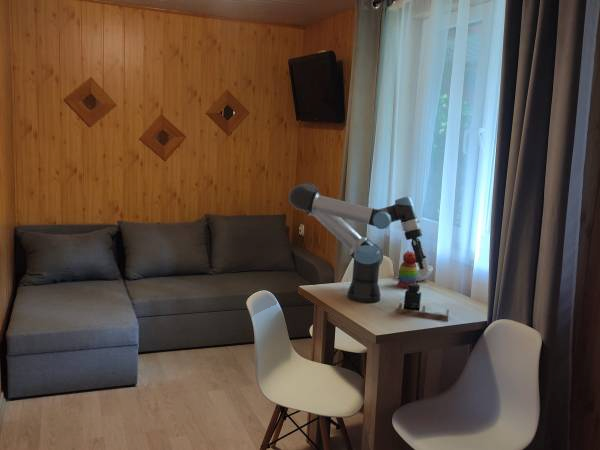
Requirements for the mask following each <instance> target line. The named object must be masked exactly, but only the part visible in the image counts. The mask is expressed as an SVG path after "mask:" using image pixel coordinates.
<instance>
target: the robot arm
mask: <svg viewBox="0 0 600 450" xmlns="http://www.w3.org/2000/svg"><path fill="white" fill-rule="evenodd" d="M288 201H289V204H290V206H291V207H293V208H294V209H296V210H298V211H302V212H304V213H305V214H306V215H307V216H311V217H314V218H315V219H316V220H317V221H318V222H320V224H321V225H323V226H324V228H326V230H327V231H329V232H330V233H331V234H332V235H333V236H334V237H335V238H336V239H337V240H338V241H339V242H341V244H343V246H344V247H345V248H346V249H347V250H349V256H350V257H351V258H353V266H352V278H351V279H352V280H351V282H350V284H349V287H348V289H347V293H346V297H347V299H348V300H350V301H353V302H356V303H357V302H358V303H364V304H365V303H366V304H368V303H369V304H372V303H378V302H380V300H381V291H380V288H379V274H380V273H379V272H380V266H381V265H382V262H383V260H384V253H383V250H382V248H381V247H380V246H379V245H378V244H375V243H374V242H372V240H371V239H369V238H368V237H365V236H361V235H360V234H359V233H358V232H357V231H356V230H355V229H354V228H353V227H352V226H351V225H350V224H349V223H348V222H347V221H346V220H349V221H354V222H357V223H361V224H366V225H369V226H373V227H375V228H376V229H379V230H384V229H387V228H388V227H390V224H391V223H394V222H398V221H400V223H401V227H402V230H403V232H404V237H405V240H407V241H409V240H411V242H410V244H411V245H410V246H411V247H412V250H413V253H414V254H415V258H416V261H415V263H417V264H418V267H419V271H420V274H421V277H422V276H426V275H427V272H429V271H428V267H427V265H428V264H427V261H426V259H427V256H426V255H425V254H424V251H423V248H422V243H421V240H420V239H419V238H420V237H423V234H422V230H421V228H420V224H419V223H420V220H419V219H418V218H417V213H416V210H415V207H414V206H415V205H414V203H413V201H412V198H411V197H410V196H403V197H400V198H397V199H395V200H394V204H392V205H389V206H385V207H382V208H378V209H377V208H372V207H368V206H365V205H361V204H357V203H353V202H349V201H345V200H344V201H343V200H340V199H336V198H333V197H329V196H324V195H323V194H322V193H321V192H320V190H319V189H318V187H317V186H316V185H314V184H312V183H309V182H304V183H301V184H299V185H296V186H294V187H293V188H292V189H291V190H290V191H289V194H288ZM344 219H345V220H344Z"/></svg>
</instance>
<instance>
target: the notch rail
mask: <svg viewBox="0 0 600 450" xmlns="http://www.w3.org/2000/svg"><path fill="white" fill-rule="evenodd" d="M396 313H397V315H398V314H399V315H405V316H413V317H419V318H427V319H435V320H439V321H440V320H442V321H449V314H450V309H446V311H445V312H438V311H431V310H426V306H424V305H423V306H422V308H421V310H419V311H416V310H409V309H403V303H402V302H400V303H398V307H397V312H396Z"/></svg>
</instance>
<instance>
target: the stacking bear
mask: <svg viewBox="0 0 600 450" xmlns="http://www.w3.org/2000/svg"><path fill="white" fill-rule="evenodd" d="M402 258H403V262H402V263H401V264H400V266H399V269H398V276H397V277H398V282H397V286H398V287H399V288H402V289H406V290H408V285H409V284H411V283H413V284H417V282H416V279H417V267H416V264H415V261H416V258H415V254H414V251H410V250H407V251H406V252H404V254H403V255H402Z"/></svg>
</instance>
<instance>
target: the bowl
mask: <svg viewBox="0 0 600 450" xmlns="http://www.w3.org/2000/svg"><path fill="white" fill-rule="evenodd" d="M415 264H416V267H417V279H416V281H417V282H421V281H422V280H423V281H424V280H425V279H426V278H427V277H428V276H429V275H430V274H431V273H432V272H433V270H434V268H433V266H431V265H429V264H427V267H428V271H429V272H427V275H426V276H422V277H421V274H420V271H419V267H418V264H417V263H415ZM423 281H422V282H423Z"/></svg>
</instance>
